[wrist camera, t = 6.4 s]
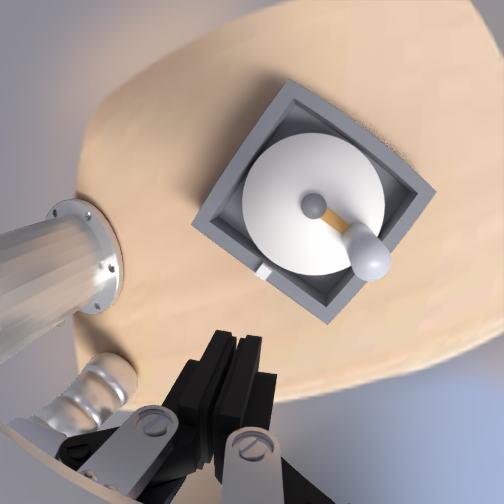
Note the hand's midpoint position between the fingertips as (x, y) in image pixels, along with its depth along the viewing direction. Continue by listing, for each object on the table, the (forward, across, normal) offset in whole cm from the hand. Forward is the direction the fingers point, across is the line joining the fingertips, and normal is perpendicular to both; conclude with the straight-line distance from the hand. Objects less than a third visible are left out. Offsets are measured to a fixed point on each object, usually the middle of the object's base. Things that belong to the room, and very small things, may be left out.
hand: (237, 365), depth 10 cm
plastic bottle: (+14, +16, +16) cm, 27 cm away
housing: (+13, -3, -5) cm, 14 cm away
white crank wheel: (+12, -3, -5) cm, 13 cm away
